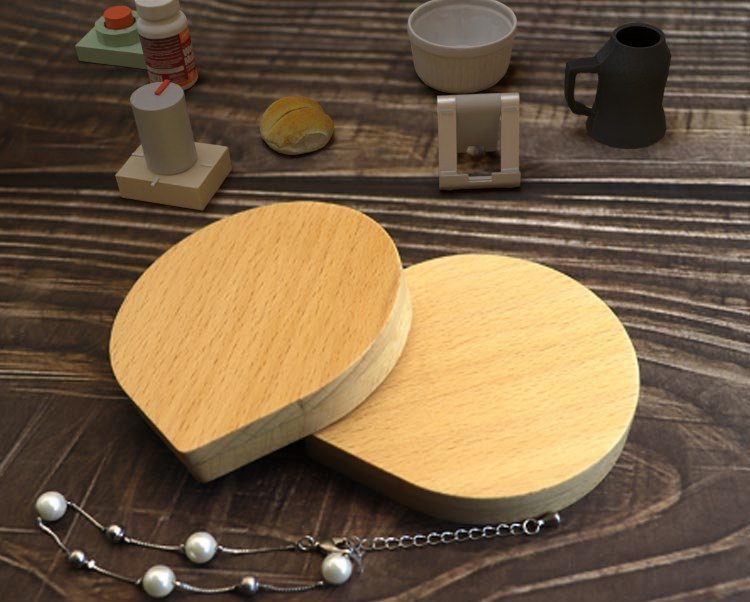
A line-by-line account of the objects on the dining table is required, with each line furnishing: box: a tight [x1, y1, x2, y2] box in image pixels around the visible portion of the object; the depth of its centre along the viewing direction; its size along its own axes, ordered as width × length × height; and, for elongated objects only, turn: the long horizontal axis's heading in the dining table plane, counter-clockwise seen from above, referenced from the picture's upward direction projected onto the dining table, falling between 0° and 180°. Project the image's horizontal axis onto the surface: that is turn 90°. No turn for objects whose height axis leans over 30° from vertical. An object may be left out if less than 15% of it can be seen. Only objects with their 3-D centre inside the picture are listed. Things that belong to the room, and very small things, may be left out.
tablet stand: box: [436, 91, 522, 191], centre depth 109 cm, size 9×8×8 cm
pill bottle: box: [134, 0, 199, 91], centre depth 125 cm, size 6×6×11 cm
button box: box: [74, 10, 147, 70], centre depth 134 cm, size 10×8×4 cm
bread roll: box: [259, 95, 335, 156], centre depth 118 cm, size 8×9×4 cm
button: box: [103, 5, 134, 30], centre depth 132 cm, size 4×4×2 cm
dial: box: [129, 79, 197, 175], centre depth 109 cm, size 6×6×8 cm
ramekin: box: [407, 0, 518, 95], centre depth 124 cm, size 13×13×7 cm
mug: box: [563, 22, 672, 150], centre depth 113 cm, size 12×9×11 cm
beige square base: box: [114, 141, 233, 211], centre depth 113 cm, size 10×10×3 cm
